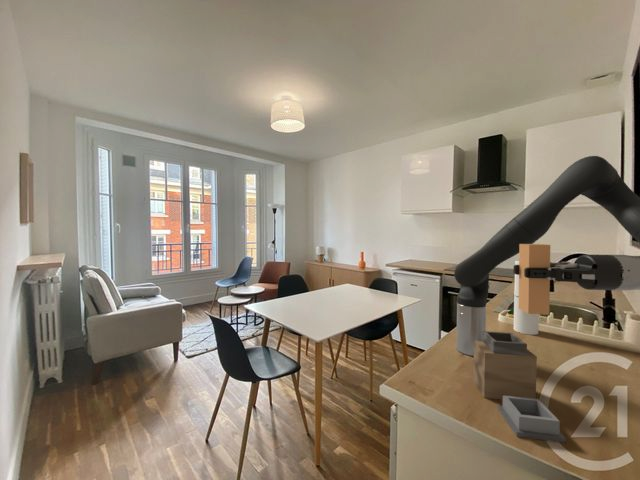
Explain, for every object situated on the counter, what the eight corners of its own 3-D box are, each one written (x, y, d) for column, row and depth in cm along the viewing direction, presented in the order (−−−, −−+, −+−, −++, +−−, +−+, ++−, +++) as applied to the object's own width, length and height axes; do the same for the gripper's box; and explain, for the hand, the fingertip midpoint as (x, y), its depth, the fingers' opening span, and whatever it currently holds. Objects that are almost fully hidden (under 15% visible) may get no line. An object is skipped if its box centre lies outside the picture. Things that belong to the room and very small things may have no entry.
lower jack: (497, 409, 67) (498, 393, 67) (539, 413, 66) (539, 397, 65) (516, 436, 58) (517, 418, 58) (565, 442, 57) (565, 423, 57)
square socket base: (473, 380, 80) (474, 330, 79) (519, 385, 77) (520, 333, 77) (484, 397, 72) (485, 341, 71) (535, 402, 70) (537, 345, 69)
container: (527, 327, 122) (529, 260, 121) (543, 334, 114) (545, 263, 113) (508, 327, 122) (510, 260, 121) (523, 335, 114) (525, 263, 112)
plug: (518, 308, 63) (519, 243, 63) (538, 309, 62) (539, 243, 62) (528, 313, 59) (529, 245, 59) (549, 314, 59) (550, 244, 58)
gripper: (584, 251, 65) (504, 251, 68) (643, 258, 51) (539, 257, 54) (583, 283, 65) (504, 281, 68) (641, 298, 51) (538, 295, 54)
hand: (520, 271), depth 61 cm, fingers closed on plug, 4 cm apart
